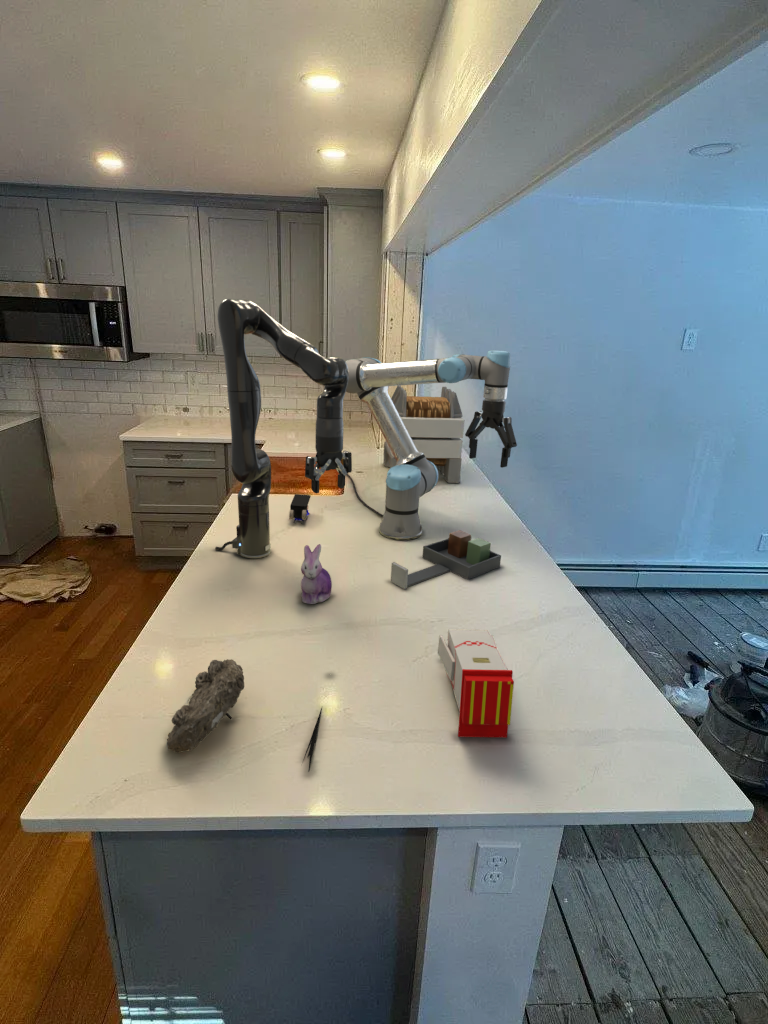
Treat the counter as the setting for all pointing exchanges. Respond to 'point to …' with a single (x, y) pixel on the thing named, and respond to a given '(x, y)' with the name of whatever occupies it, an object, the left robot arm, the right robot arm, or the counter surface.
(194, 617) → the counter surface
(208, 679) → the fossil
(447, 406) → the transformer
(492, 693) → the toy
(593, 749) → the counter surface
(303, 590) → the figurine
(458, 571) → the tray
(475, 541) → the sage block
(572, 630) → the counter surface
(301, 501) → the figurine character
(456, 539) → the walnut block
